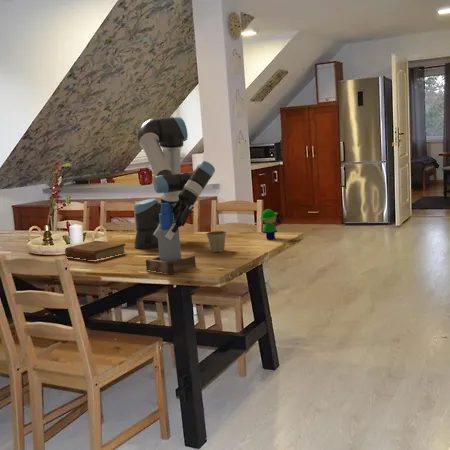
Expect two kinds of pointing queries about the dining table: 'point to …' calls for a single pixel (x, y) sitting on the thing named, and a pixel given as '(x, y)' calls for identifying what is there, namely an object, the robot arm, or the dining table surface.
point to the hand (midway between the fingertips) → (161, 237)
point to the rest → (170, 265)
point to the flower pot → (216, 240)
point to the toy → (270, 223)
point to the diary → (95, 250)
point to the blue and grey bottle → (167, 248)
